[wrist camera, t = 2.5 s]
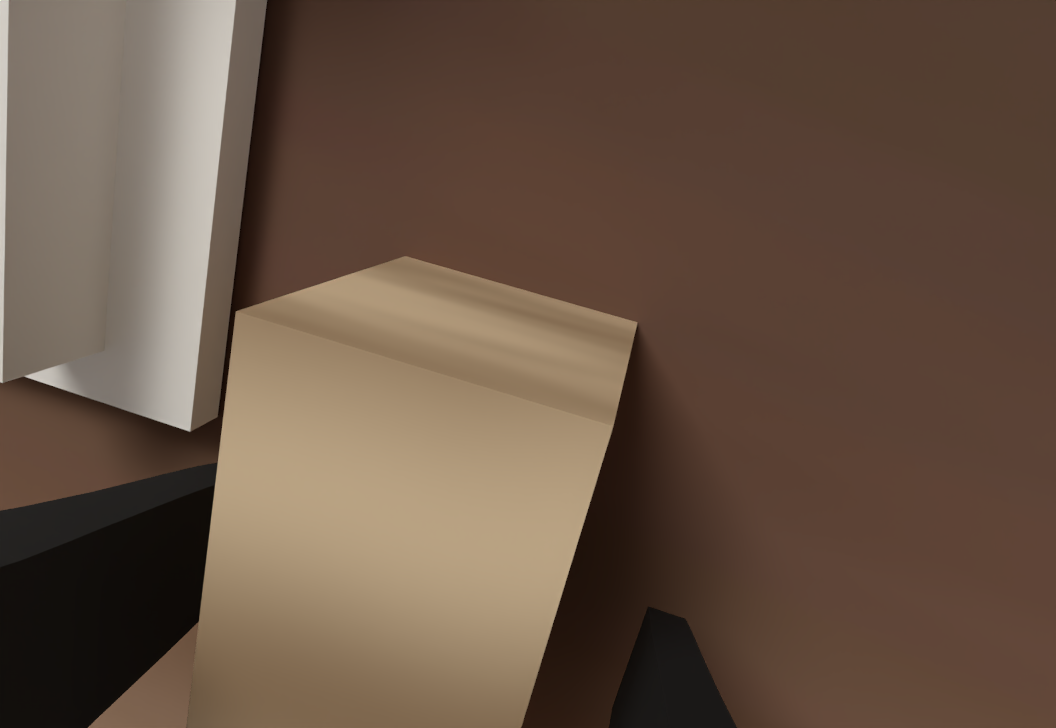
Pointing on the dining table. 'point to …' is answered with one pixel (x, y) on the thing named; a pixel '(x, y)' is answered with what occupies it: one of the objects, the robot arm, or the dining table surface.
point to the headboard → (124, 195)
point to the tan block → (399, 499)
